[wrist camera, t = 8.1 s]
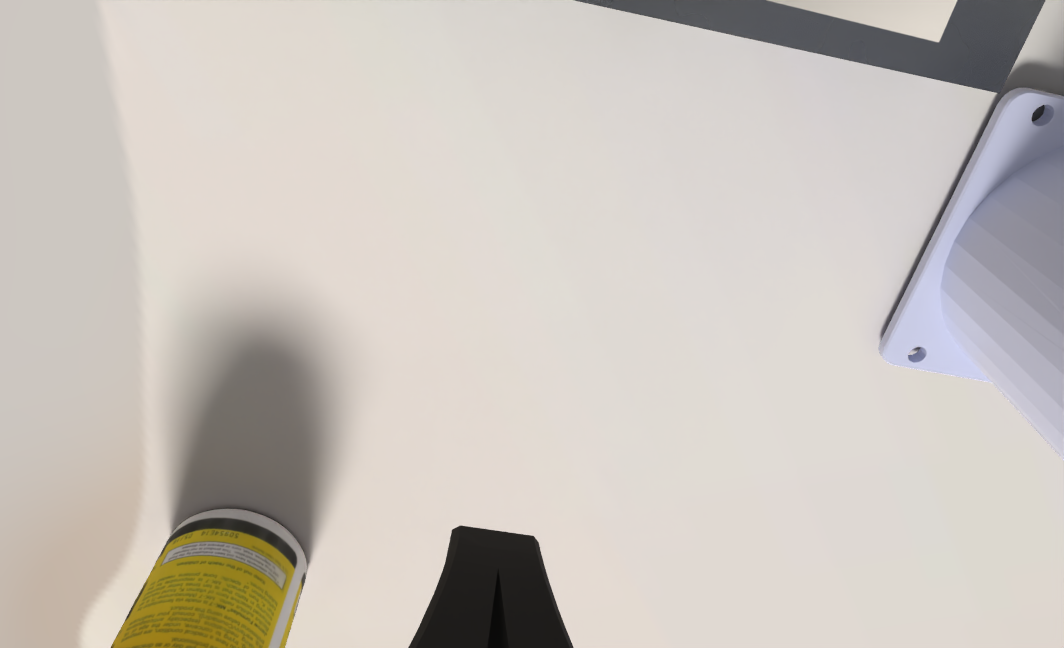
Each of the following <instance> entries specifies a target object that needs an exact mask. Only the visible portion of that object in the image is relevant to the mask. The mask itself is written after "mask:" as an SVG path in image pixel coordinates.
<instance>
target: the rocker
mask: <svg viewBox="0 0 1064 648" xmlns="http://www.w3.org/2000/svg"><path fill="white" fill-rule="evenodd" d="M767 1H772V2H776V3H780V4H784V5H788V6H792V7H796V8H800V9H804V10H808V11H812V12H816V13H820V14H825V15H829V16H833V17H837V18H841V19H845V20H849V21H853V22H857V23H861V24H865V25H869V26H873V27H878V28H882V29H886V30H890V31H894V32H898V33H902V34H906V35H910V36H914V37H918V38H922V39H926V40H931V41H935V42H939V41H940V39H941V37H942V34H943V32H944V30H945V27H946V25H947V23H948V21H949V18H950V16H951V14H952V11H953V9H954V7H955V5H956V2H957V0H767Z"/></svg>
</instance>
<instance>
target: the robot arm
mask: <svg viewBox="0 0 1064 648" xmlns="http://www.w3.org/2000/svg"><path fill="white" fill-rule="evenodd" d="M1042 105H1044V106H1045V110H1044V113H1043V115H1042V116H1041V117H1040V118H1039V119H1038V120H1036V121H1034V122H1032V120H1031V118H1032V114H1033V112H1034V111H1035V110H1036V109H1037V108H1038V107H1040V106H1042ZM916 347H920V350H919V351H918V352H917V353H915V354H913V355H908V354H909V352H910V351H911V350H912V349H914V348H916ZM879 353H880V355H881V356H882V357H883V359H884V360H885V361H886V362H887V363H888V364H891V365H894V366H899V367H905V368H911V369H916V370H922V371H928V372H933V373H939V374H945V375H950V376H956V377H962V378H968V379H973V380H979V381H985V382H990V383H992V384H993V385H994V386H995V387H996V388H997V389H998V390H999V391H1000V392H1001V393H1002V394H1003V395H1004V397H1005V398H1006V399H1007V400H1008V401H1009V402H1010V403H1011V404H1012V405H1013V406H1014V407H1015V408H1016V410H1017V411H1018V412H1019V413H1020V414H1021V415H1022V416H1023V417H1024V418H1025V419H1026V420H1027V422H1028V423H1029V424H1030V425H1031V426H1032V427H1033V428H1034V429H1035V430H1036V431H1037V432H1038V433H1039V435H1040V436H1041V437H1042V438H1043V439H1044V440H1045V441H1046V442H1047V443H1048V444H1049V445H1050V447H1051V448H1052V449H1053V450H1054V451H1055V452H1056V453H1057V454H1058V455H1059V456H1060V457H1061V458H1062V460H1063V461H1064V96H1063V95H1058V94H1053V93H1049V92H1044V91H1040V90H1035V89H1031V88H1016V89H1013V90H1011V91H1009V92H1008V93H1007V94H1005V95H1004V96H1003V97H1002V98H1001V100H1000V101H999V103H998V104H997V106H996V108H995V110H994V112H993V114H992V116H991V118H990V120H989V122H988V125H987V127H986V129H985V131H984V133H983V135H982V137H981V139H980V141H979V143H978V145H977V147H976V149H975V151H974V153H973V155H972V157H971V159H970V161H969V163H968V165H967V167H966V169H965V171H964V173H963V175H962V177H961V179H960V181H959V183H958V185H957V187H956V189H955V191H954V194H953V196H952V198H951V200H950V202H949V204H948V206H947V208H946V210H945V212H944V214H943V216H942V218H941V220H940V222H939V224H938V226H937V228H936V230H935V232H934V234H933V236H932V238H931V240H930V242H929V244H928V246H927V248H926V250H925V252H924V254H923V256H922V258H921V260H920V263H919V265H918V267H917V269H916V271H915V273H914V275H913V277H912V279H911V281H910V283H909V285H908V287H907V289H906V291H905V293H904V295H903V297H902V299H901V301H900V303H899V305H898V307H897V309H896V311H895V313H894V315H893V317H892V319H891V321H890V323H889V325H888V327H887V330H886V332H885V334H884V336H883V338H882V340H881V342H880V345H879ZM409 648H573V645H572V643H571V640H570V638H569V636H568V633H567V631H566V628H565V626H564V623H563V620H562V618H561V615H560V612H559V610H558V607H557V604H556V601H555V598H554V595H553V592H552V589H551V586H550V583H549V580H548V577H547V573H546V570H545V567H544V563H543V559H542V555H541V551H540V547H539V543H538V541H537V540H536V539H535V537H534V536H530V535H523V534H516V533H508V532H501V531H494V530H487V529H480V528H473V527H466V526H459V527H457V528H455V529H453V530H452V533H451V538H450V543H449V548H448V553H447V557H446V562H445V565H444V568H443V571H442V574H441V577H440V580H439V582H438V585H437V587H436V590H435V593H434V595H433V597H432V599H431V602H430V604H429V606H428V608H427V610H426V613H425V615H424V617H423V619H422V622H421V624H420V626H419V628H418V630H417V632H416V634H415V636H414V638H413V640H412V642H411V644H410V646H409Z"/></svg>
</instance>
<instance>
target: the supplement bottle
mask: <svg viewBox="0 0 1064 648" xmlns="http://www.w3.org/2000/svg"><path fill="white" fill-rule="evenodd" d="M306 574H307V562H306V558H305V555H304V552H303V550H302V548H301V547H300V545H299V543H298V542H297V540H296V539H295V538H294V537H293V535H292V534H291V533H290V532H289V531H288V530H287V529H285V528H284V527H283V526H282V525H280V524H279V523H277V522H276V521H274V520H272V519H270V518H268V517H266V516H263V515H261V514H258V513H254V512H251V511H246V510H241V509H216V510H210V511H206V512H202V513H199V514H196V515H194V516H192V517H190V518H188V519H187V520H185V521H184V522H182V523H181V524H180V525H179V526H178V527H177V528H176V529H175V530H174V531H173V533H172V534H171V536H170V537H169V539H168V541H167V543H166V545H165V547H164V548H163V550H162V552H161V554H160V556H159V557H158V559H157V561H156V564H155V566H154V567H153V569H152V571H151V573H150V575H149V577H148V579H147V580H146V582H145V584H144V586H143V588H142V589H141V591H140V593H139V595H138V597H137V599H136V600H135V602H134V604H133V606H132V608H131V610H130V612H129V614H128V616H127V618H126V620H125V622H124V624H123V625H122V627H121V629H120V631H119V633H118V635H117V637H116V639H115V640H114V642H113V644H112V646H111V648H285V645H286V642H287V638H288V635H289V632H290V629H291V625H292V622H293V619H294V616H295V613H296V610H297V606H298V602H299V599H300V595H301V593H302V589H303V586H304V583H305V579H306Z"/></svg>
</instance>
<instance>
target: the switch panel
mask: <svg viewBox="0 0 1064 648" xmlns="http://www.w3.org/2000/svg"><path fill="white" fill-rule="evenodd" d="M575 1H580V2H584V3H589V4H593V5H598V6H603V7H607V8H612V9H616V10H621V11H625V12H630V13H635V14H639V15H644V16H648V17H653V18H657V19H662V20H667V21H671V22H676V23H680V24H685V25H689V26H694V27H699V28H703V29H708V30H712V31H717V32H721V33H726V34H731V35H735V36H740V37H744V38H749V39H753V40H758V41H763V42H767V43H772V44H776V45H781V46H785V47H790V48H795V49H799V50H804V51H808V52H813V53H817V54H822V55H827V56H831V57H836V58H840V59H845V60H849V61H854V62H859V63H863V64H868V65H872V66H877V67H881V68H886V69H891V70H895V71H900V72H904V73H909V74H913V75H918V76H923V77H927V78H932V79H936V80H941V81H945V82H950V83H955V84H959V85H964V86H968V87H973V88H977V89H982V90H987V91H991V92H996V93H1000V92H1001V90H1002V88H1003V86H1004V84H1005V82H1006V80H1007V78H1008V76H1009V73H1010V71H1011V69H1012V67H1013V65H1014V63H1015V61H1016V59H1017V57H1018V55H1019V53H1020V51H1021V49H1022V47H1023V45H1024V43H1025V41H1026V39H1027V37H1028V35H1029V33H1030V31H1031V29H1032V27H1033V25H1034V23H1035V21H1036V18H1037V16H1038V14H1039V12H1040V10H1041V8H1042V6H1043V4H1044V2H1045V0H957V2H956V5H955V7H954V9H953V11H952V14H951V16H950V18H949V21H948V23H947V25H946V27H945V30H944V32H943V34H942V37H941V39H940V41H939V42H935V41H931V40H926V39H922V38H918V37H914V36H910V35H906V34H902V33H898V32H894V31H890V30H886V29H882V28H878V27H873V26H869V25H865V24H861V23H857V22H853V21H849V20H845V19H841V18H837V17H833V16H829V15H825V14H820V13H816V12H812V11H808V10H804V9H800V8H796V7H792V6H788V5H784V4H780V3H776V2H772V1H767V0H575Z"/></svg>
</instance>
